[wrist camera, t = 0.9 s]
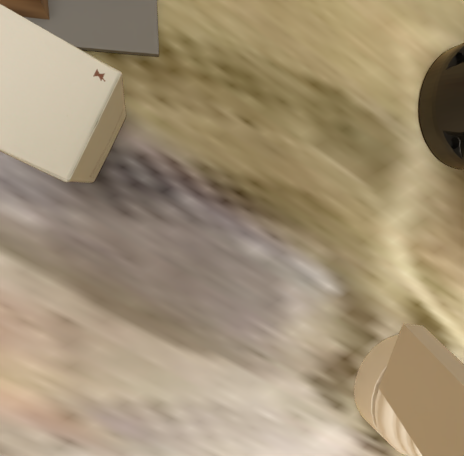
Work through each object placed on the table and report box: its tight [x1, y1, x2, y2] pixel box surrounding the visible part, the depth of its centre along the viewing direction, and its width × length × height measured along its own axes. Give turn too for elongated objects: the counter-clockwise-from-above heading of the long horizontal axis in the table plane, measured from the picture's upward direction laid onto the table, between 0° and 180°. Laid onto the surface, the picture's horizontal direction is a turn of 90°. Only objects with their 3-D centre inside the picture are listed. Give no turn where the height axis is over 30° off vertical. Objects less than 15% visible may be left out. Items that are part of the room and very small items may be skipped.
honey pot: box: [354, 335, 422, 456], centre depth 36 cm, size 13×13×18 cm
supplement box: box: [0, 4, 126, 183], centre depth 25 cm, size 7×7×13 cm
